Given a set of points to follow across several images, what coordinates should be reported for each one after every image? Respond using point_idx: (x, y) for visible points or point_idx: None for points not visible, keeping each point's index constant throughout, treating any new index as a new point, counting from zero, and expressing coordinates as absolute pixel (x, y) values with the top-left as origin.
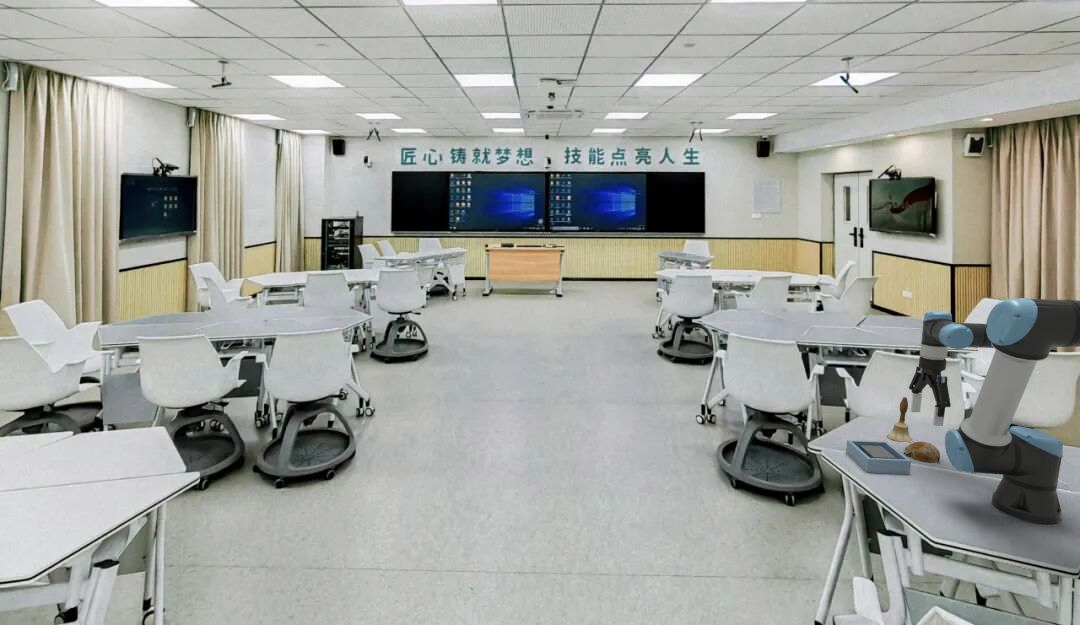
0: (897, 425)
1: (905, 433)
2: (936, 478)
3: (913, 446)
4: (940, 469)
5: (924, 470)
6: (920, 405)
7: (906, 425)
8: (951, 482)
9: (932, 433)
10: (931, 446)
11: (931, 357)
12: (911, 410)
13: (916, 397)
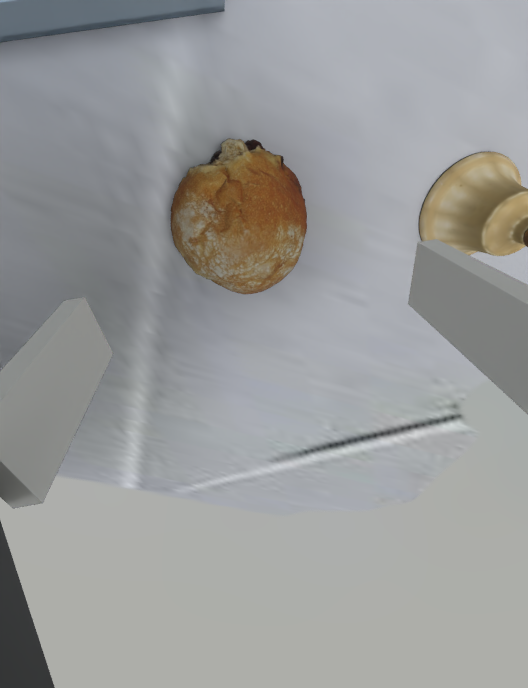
0: (511, 200)
1: (458, 229)
2: (25, 202)
3: (233, 182)
4: (147, 256)
5: (102, 181)
6: (440, 332)
7: (497, 246)
8: (14, 250)
9: None
10: (219, 266)
11: None
12: (431, 244)
13: (513, 338)
